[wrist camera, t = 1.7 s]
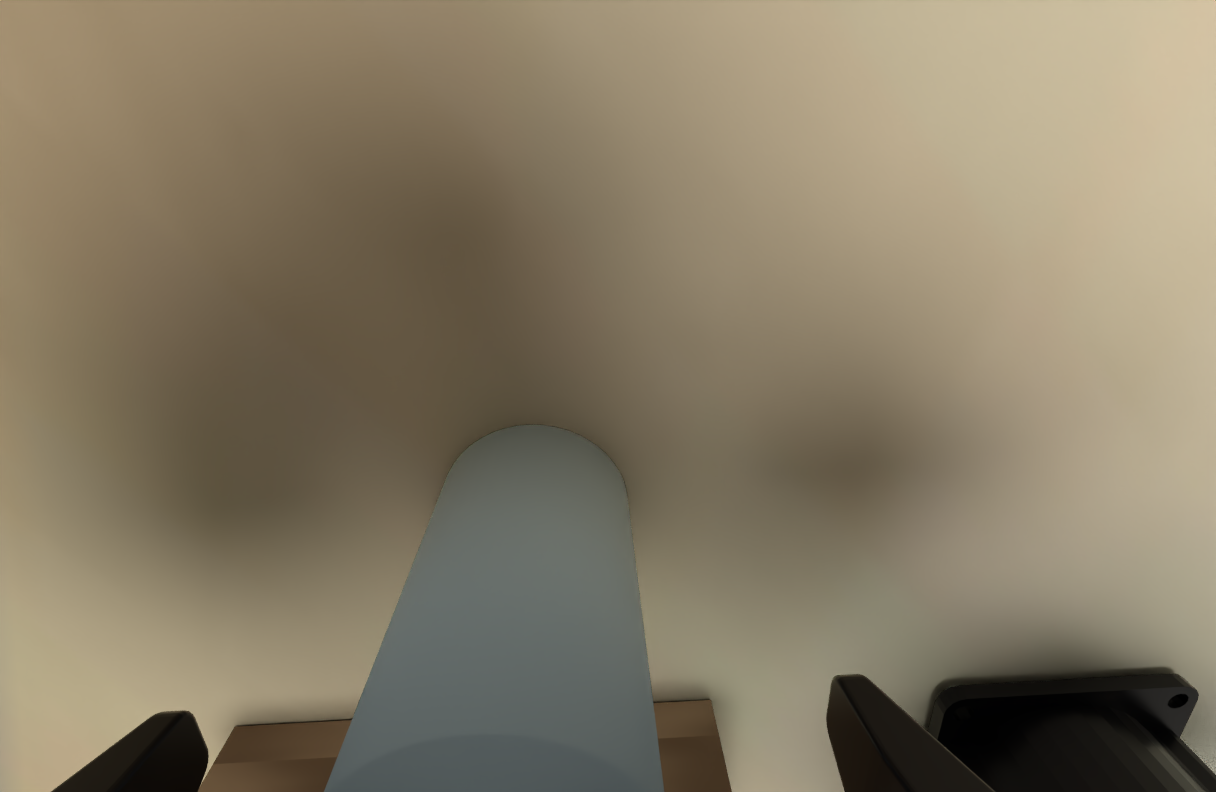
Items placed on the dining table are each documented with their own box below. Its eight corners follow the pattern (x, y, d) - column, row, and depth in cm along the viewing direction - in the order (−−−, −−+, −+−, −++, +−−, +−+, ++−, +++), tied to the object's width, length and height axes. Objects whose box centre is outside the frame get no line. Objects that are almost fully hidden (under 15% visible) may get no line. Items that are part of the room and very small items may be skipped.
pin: (626, 420, 13) (673, 722, 6) (629, 577, 14) (669, 948, 8) (429, 429, 12) (267, 746, 6) (454, 586, 14) (348, 969, 8)
